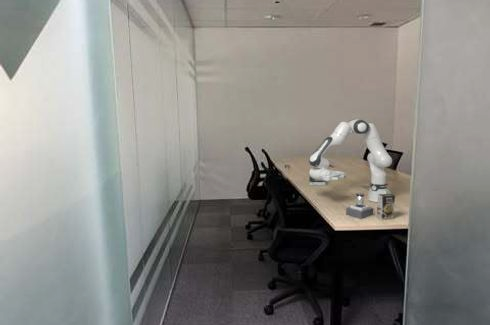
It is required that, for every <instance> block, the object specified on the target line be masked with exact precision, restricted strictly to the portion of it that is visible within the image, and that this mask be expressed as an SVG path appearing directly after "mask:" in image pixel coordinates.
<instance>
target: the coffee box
mask: <svg viewBox="0 0 490 325" xmlns="http://www.w3.org/2000/svg"><path fill="white" fill-rule="evenodd" d="M395 198H396V195H395V194H392V193H391V194H378V202H376V203H377V204H376V207H377V208H376V218H378V220H381V221H384V220H394V218H395V200H396V199H395Z"/></svg>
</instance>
